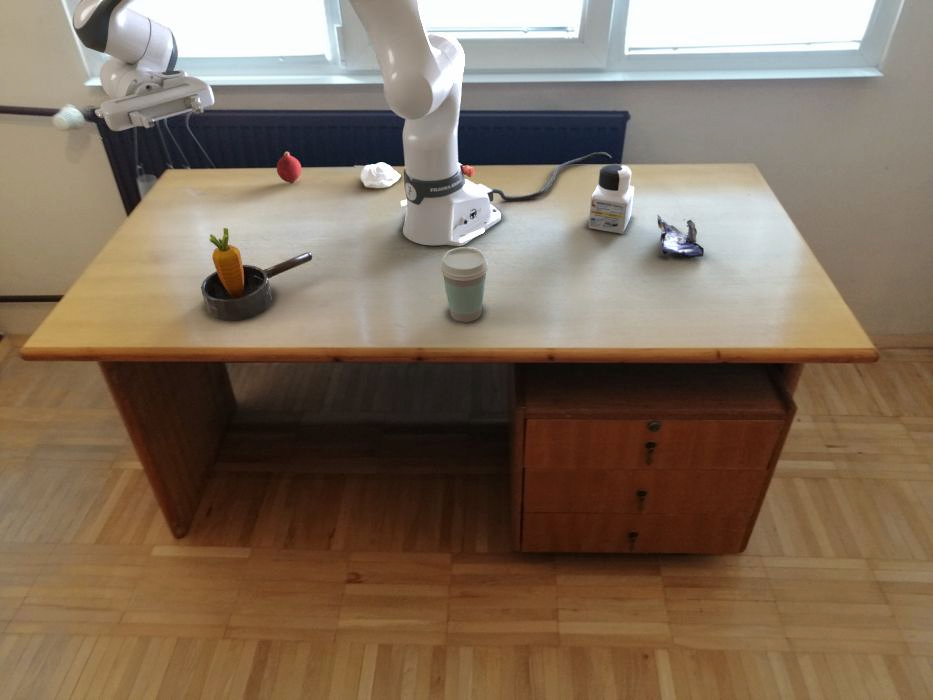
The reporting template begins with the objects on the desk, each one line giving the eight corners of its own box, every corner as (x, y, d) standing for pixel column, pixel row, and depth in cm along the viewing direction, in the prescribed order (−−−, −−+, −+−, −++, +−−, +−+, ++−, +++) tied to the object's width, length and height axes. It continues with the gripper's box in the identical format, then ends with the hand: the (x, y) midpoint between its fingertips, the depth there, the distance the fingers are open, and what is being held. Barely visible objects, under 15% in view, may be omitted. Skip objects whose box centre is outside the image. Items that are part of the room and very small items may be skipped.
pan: (253, 277, 145) (248, 258, 142) (283, 303, 138) (279, 283, 135) (196, 300, 139) (190, 281, 136) (224, 329, 132) (218, 309, 129)
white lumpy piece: (356, 157, 177) (395, 152, 179) (358, 174, 180) (397, 169, 182) (361, 174, 170) (402, 169, 171) (363, 192, 173) (403, 186, 174)
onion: (298, 189, 175) (292, 158, 170) (276, 187, 176) (269, 156, 171) (307, 178, 179) (301, 148, 174) (285, 177, 180) (279, 146, 175)
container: (587, 228, 157) (593, 173, 148) (596, 212, 162) (602, 158, 154) (623, 234, 154) (630, 178, 146) (630, 217, 160) (638, 163, 152)
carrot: (228, 309, 136) (208, 240, 126) (222, 296, 139) (202, 228, 130) (254, 302, 137) (236, 233, 128) (248, 289, 141) (230, 221, 131)
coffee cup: (496, 306, 135) (496, 251, 128) (475, 331, 129) (474, 275, 122) (456, 295, 138) (454, 241, 131) (434, 319, 133) (430, 263, 125)
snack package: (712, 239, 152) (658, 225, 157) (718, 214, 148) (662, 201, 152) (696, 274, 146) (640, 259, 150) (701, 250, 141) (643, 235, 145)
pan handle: (310, 257, 145) (308, 249, 144) (314, 260, 144) (313, 253, 143) (260, 277, 140) (258, 270, 139) (265, 281, 139) (263, 273, 138)
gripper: (85, 93, 132) (112, 114, 124) (190, 67, 143) (221, 85, 134) (97, 127, 136) (124, 148, 128) (199, 99, 147) (229, 118, 138)
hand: (174, 115), depth 131 cm, fingers open, 8 cm apart
